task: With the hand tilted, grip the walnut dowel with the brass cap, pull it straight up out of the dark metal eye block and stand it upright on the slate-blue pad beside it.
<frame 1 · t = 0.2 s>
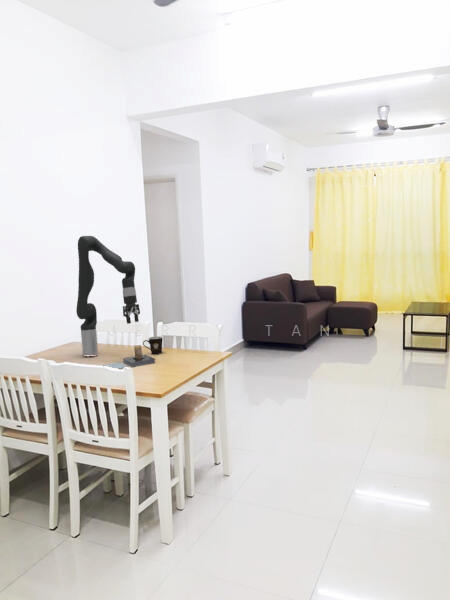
hand: (132, 322, 287), 23 cm above the table, tool pointing down, fingers open, 8 cm apart
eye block: (138, 362, 283), on the table
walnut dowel: (138, 354, 283), in the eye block
coffee mug: (154, 353, 307), on the table
slate pad: (115, 366, 276), on the table
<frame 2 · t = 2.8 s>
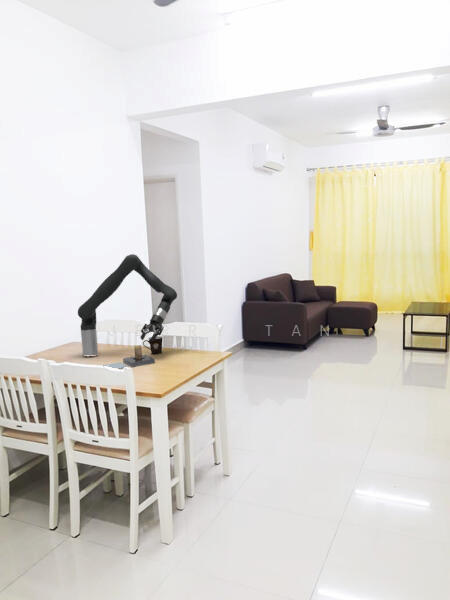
hand: (146, 339, 288), 12 cm above the table, tool tilted 45°, fingers open, 8 cm apart
nothing on the table moved.
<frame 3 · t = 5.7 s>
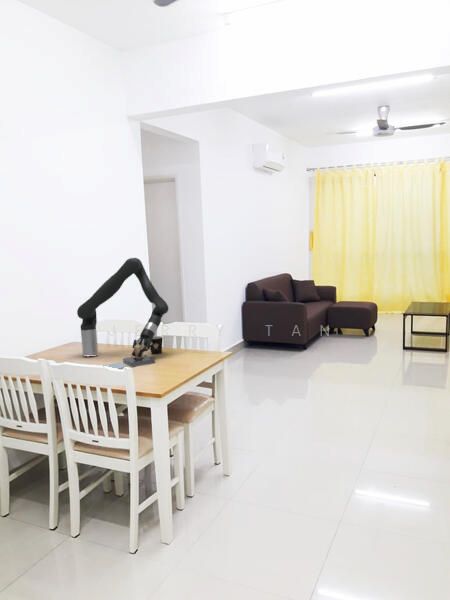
hand: (136, 355, 281), 5 cm above the table, tool tilted 45°, fingers closed on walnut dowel, 4 cm apart
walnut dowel: (138, 354, 283), in the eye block, touching gripper
everything else where it was.
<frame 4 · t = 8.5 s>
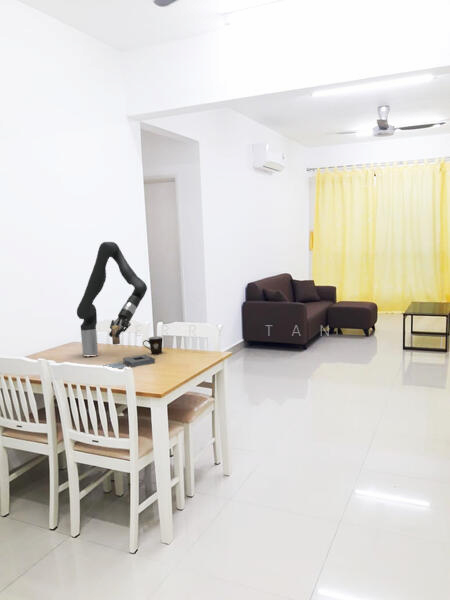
hand: (113, 336, 274), 18 cm above the table, tool tilted 45°, fingers closed on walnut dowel, 4 cm apart
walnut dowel: (115, 334, 275), point 18 cm above the table, touching gripper
everything else where it was.
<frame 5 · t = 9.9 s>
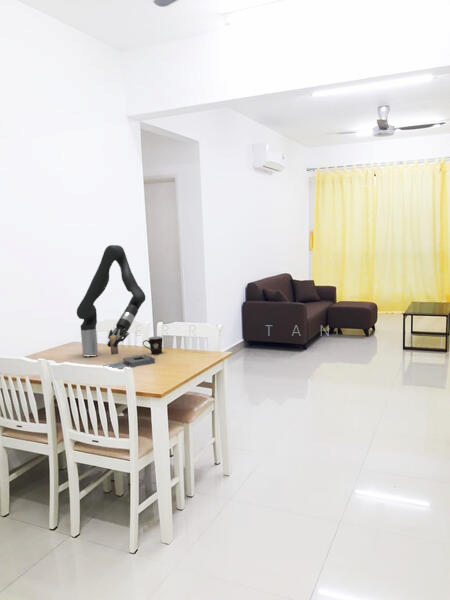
hand: (111, 346, 273), 12 cm above the table, tool tilted 45°, fingers closed on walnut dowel, 4 cm apart
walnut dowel: (113, 344, 275), point 13 cm above the table, touching gripper
everything else where it was.
when the fingers open (6 cm above the table, at t = 11.3 s): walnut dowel drops 1 cm, resting on slate pad.
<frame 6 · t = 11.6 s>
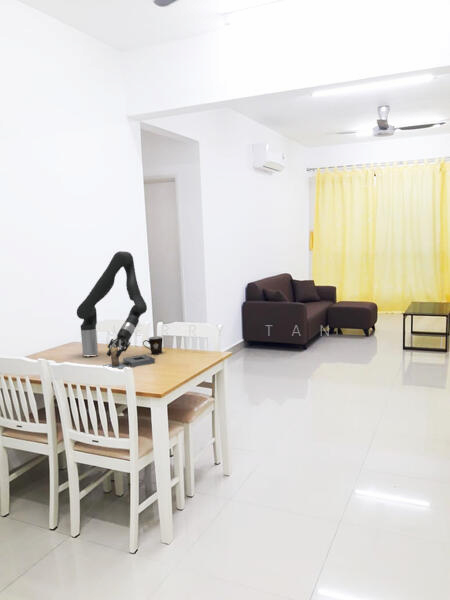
hand: (112, 356, 274), 7 cm above the table, tool tilted 45°, fingers open, 6 cm apart
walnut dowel: (114, 357, 276), on the slate pad, point 6 cm above the table
everything else where it was.
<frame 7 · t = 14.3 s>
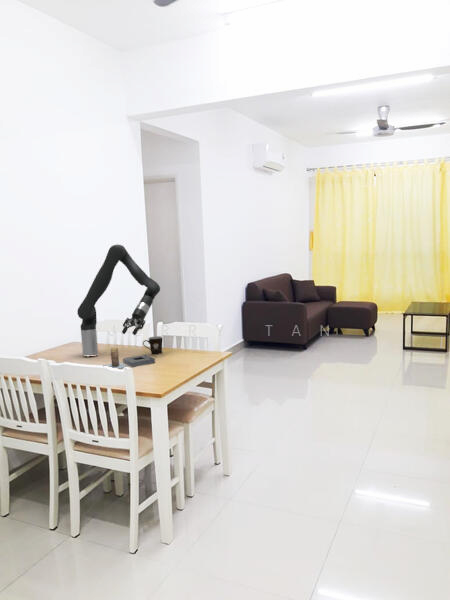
hand: (128, 333, 284), 17 cm above the table, tool tilted 45°, fingers open, 8 cm apart
nothing on the table moved.
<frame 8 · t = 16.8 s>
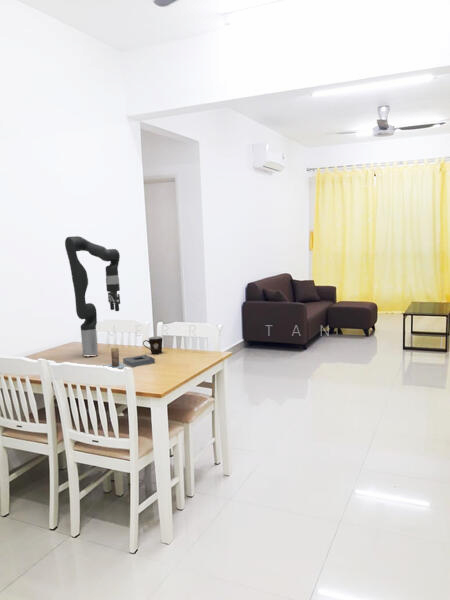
hand: (114, 310, 289), 30 cm above the table, tool pointing down, fingers open, 8 cm apart
nothing on the table moved.
at the end: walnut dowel inside the target area on the slate pad (0.1 cm from its centre), point 5.7 cm above the slate pad's base; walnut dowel tilted 2°; the gripper is holding nothing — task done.
